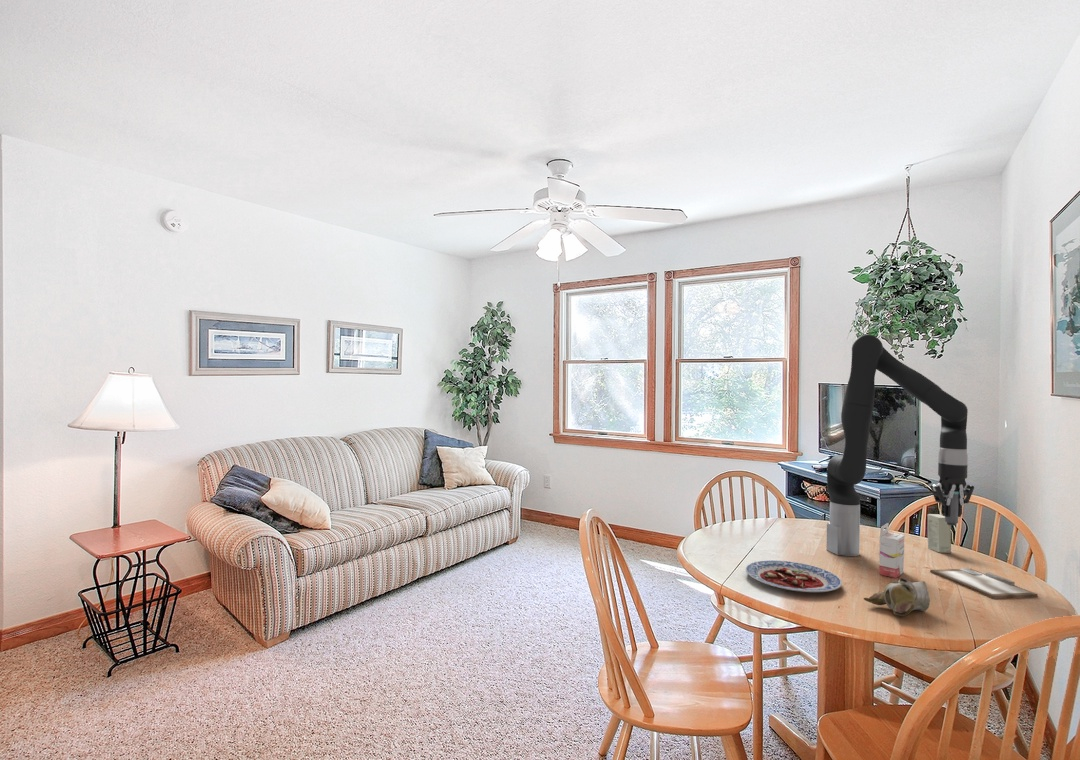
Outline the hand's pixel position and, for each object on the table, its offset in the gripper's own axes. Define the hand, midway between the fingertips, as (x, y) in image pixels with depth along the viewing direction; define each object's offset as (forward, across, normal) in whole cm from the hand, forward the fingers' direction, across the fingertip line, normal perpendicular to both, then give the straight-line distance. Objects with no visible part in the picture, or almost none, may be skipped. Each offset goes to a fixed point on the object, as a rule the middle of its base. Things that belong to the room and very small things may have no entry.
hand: (951, 516), depth 179 cm
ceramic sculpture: (+17, -42, -30) cm, 54 cm away
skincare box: (+17, +12, +18) cm, 27 cm away
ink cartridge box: (+17, -23, -3) cm, 29 cm away
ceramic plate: (+17, -58, -7) cm, 61 cm away
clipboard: (+16, -3, -14) cm, 22 cm away
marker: (+3, 0, 0) cm, 3 cm away
